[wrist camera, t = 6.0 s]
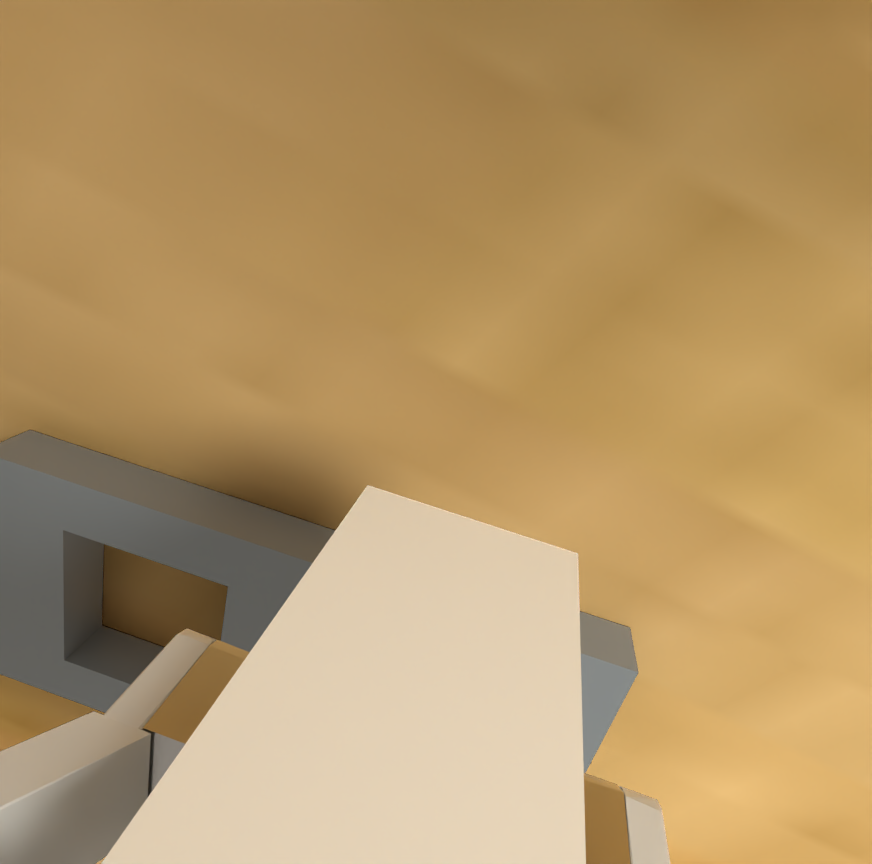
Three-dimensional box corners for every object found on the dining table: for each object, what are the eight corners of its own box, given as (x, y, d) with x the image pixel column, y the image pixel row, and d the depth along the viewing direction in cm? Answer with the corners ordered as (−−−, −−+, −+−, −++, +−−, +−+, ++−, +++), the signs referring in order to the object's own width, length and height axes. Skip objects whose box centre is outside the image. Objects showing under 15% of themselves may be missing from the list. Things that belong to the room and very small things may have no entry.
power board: (630, 628, 19) (639, 677, 17) (535, 817, 23) (533, 875, 21) (29, 429, 21) (-26, 453, 19) (37, 638, 25) (-9, 676, 23)
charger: (577, 553, 10) (595, 1261, 3) (513, 708, 12) (438, 1397, 5) (367, 484, 11) (6, 996, 4) (333, 643, 12) (36, 1201, 6)
